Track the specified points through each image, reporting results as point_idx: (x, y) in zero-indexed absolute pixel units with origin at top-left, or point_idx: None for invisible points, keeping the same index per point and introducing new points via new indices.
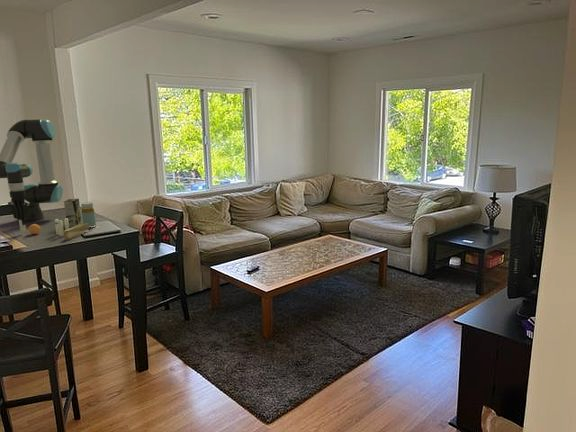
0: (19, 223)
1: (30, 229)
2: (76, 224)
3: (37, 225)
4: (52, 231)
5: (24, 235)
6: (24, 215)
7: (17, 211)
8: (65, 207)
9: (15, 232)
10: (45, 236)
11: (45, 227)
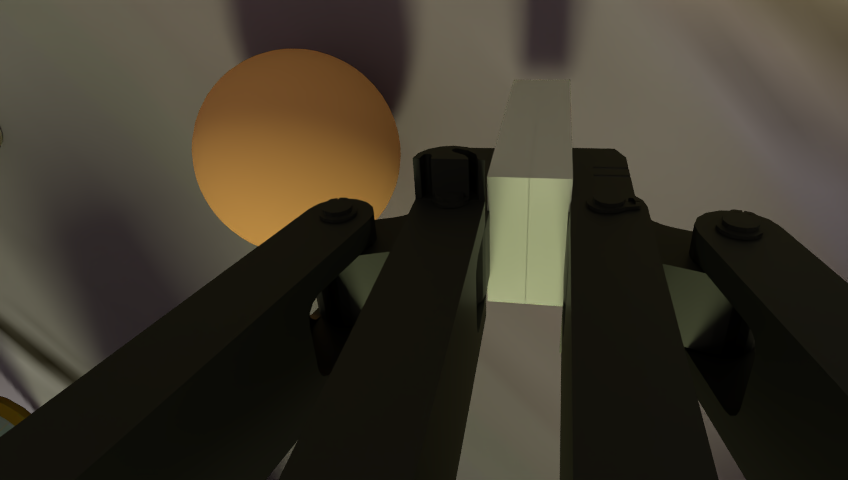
0: (563, 137)
1: (272, 57)
2: None
3: (204, 194)
4: None
5: (453, 16)
6: (289, 256)
7: (576, 388)
8: None
9: (807, 189)
10: (51, 15)
11: (492, 445)
